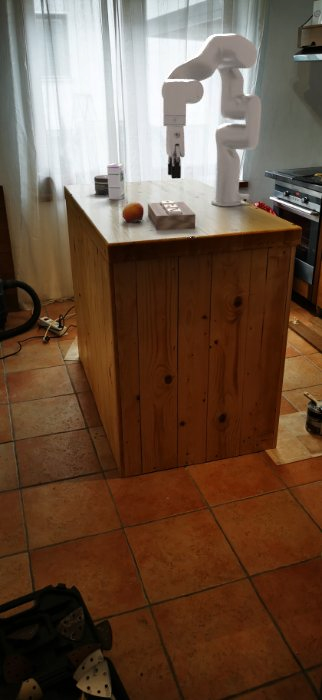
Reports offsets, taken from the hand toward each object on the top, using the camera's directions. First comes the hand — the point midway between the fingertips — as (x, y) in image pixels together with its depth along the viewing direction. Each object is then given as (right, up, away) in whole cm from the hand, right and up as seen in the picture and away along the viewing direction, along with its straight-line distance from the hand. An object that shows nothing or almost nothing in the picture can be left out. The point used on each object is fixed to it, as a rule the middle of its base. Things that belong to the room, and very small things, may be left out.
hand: (174, 176), depth 195 cm
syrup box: (-24, +7, +54) cm, 60 cm away
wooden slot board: (-1, -13, +14) cm, 19 cm away
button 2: (-1, -9, +12) cm, 15 cm away
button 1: (-2, -6, +18) cm, 20 cm away
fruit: (-15, -12, +16) cm, 25 cm away
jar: (-30, +12, +64) cm, 72 cm away
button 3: (0, -12, +6) cm, 14 cm away
